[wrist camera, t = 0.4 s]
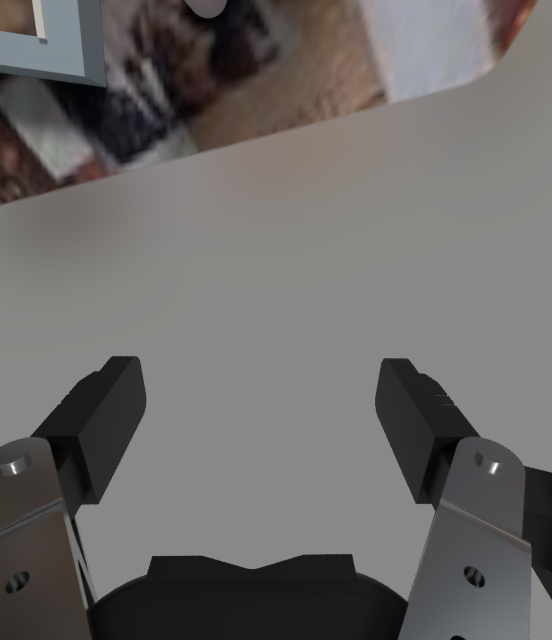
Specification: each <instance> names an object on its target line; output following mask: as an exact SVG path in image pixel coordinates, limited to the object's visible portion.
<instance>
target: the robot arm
mask: <svg viewBox="0 0 552 640" xmlns="http://www.w3.org/2000/svg"><path fill="white" fill-rule="evenodd" d="M375 407H376V412H377V415H378V418H379V420H380V423H381V425H382V427H383V429H384V432H385V434H386V436H387V439H388V441H389V443H390V446H391V448H392V450H393V452H394V455H395V457H396V459H397V461H398V464H399V466H400V468H401V471H402V473H403V475H404V477H405V480H406V482H407V484H408V487H409V489H410V491H411V494H412V496H413V498H414V500H415V503H416V504H432V505H433V507H434V510H435V515H434V518H433V521H432V524H431V528H430V531H429V534H428V537H427V541H426V544H425V547H424V550H423V553H422V557H421V559H420V563H419V566H418V569H417V573H416V575H415V579H414V582H413V585H412V588H411V591H410V594H409V597H408V601H406V600H405V599H404V598H402V597H401V596H400V595H399V594H397V593H396V592H395V591H393V590H392V589H390V588H389V587H388V586H386V585H384V584H382V583H381V582H378V581H377V580H375V579H373V578H371V577H368V576H366V575H364V574H360V573H357V572H356V571H355V566H354V561H353V557H352V554H324V555H322V554H321V555H301V556H298V557H294V558H291V559H288V560H284V561H281V562H278V563H275V564H271V565H268V566H265V567H261V568H258V569H246V568H243V567H240V566H236V565H233V564H229V563H226V562H222V561H218V560H215V559H212V558H208V557H204V556H152V559H151V563H150V566H149V569H148V573H147V575H144V576H141V577H139V578H136V579H134V580H132V581H129V582H127V583H125V584H123V585H122V586H120V587H118V588H116V589H114V590H113V591H111V592H110V593H109V594H107V595H105V596H104V597H102V598H101V599H100V600H98V598H97V595H96V592H95V589H94V585H93V582H92V578H91V574H90V571H89V566H88V562H87V559H86V555H85V551H84V547H83V544H82V540H81V536H80V532H79V528H78V524H77V521H76V518H75V515H76V513H77V511H78V509H79V507H80V506H81V505H82V504H84V505H85V504H99V502H100V500H101V498H102V496H103V494H104V492H105V490H106V488H107V486H108V484H109V482H110V481H111V479H112V476H113V475H114V473H115V470H116V469H117V466H118V465H119V463H120V461H121V459H122V457H123V455H124V452H125V451H126V449H127V447H128V445H129V443H130V441H131V439H132V437H133V435H134V433H135V431H136V429H137V427H138V425H139V423H140V421H141V419H142V417H143V415H144V412H145V408H146V392H145V386H144V380H143V375H142V369H141V364H140V360H139V358H138V357H136V356H113V357H111V358H110V359H109V360H108V361H107V363H106V364H105V365H104V366H103V367H102V369H101V370H100V371H99V372H98V371H94V372H93V373H91V374H90V375H88V376H86V377H85V378H83V379H82V380H80V381H79V382H78V383H77V384H76V385H75V386H74V388H73V389H72V390H71V391H70V392H69V394H68V395H66V397H65V398H64V399H63V400H62V401H61V404H59V405H58V406H57V407H56V408H55V409H54V410H53V411H52V412H51V414H50V415H49V416H48V417H47V418H46V419H45V420H44V422H43V423H42V424H41V425H40V426H39V427H38V428H37V429H36V431H35V432H34V433H33V434H32V435H31V436H30V437H28V438H22V439H18V440H15V441H12V442H9V443H7V444H5V445H3V446H1V447H0V640H529V632H530V631H529V630H530V595H531V566H532V568H533V569H534V571H535V573H536V574H537V576H538V578H539V579H540V581H541V583H542V584H543V586H544V588H545V589H546V591H547V593H548V594H549V596H550V598H551V599H552V473H551V472H547V471H543V470H538V469H534V468H530V467H526V466H524V465H523V464H522V462H521V461H520V459H519V458H518V457H517V456H516V455H515V454H514V453H513V452H511V451H510V450H509V449H507V448H506V447H504V446H503V445H500V444H499V443H496V442H494V441H492V440H489V439H485V438H481V437H480V436H479V434H478V433H477V432H476V430H475V429H474V428H473V427H472V426H471V424H470V423H469V422H468V420H467V419H466V418H465V417H464V415H463V414H462V413H461V411H460V410H459V409H458V408H457V406H454V402H453V401H452V400H451V399H450V397H449V396H447V393H446V392H445V391H444V390H443V388H442V387H441V386H440V385H439V383H438V382H436V381H435V380H433V379H432V378H430V377H429V376H427V375H426V374H419V373H418V371H417V370H416V368H415V367H414V366H413V364H412V363H411V362H410V360H409V359H406V358H400V359H399V358H395V359H394V358H385V359H383V361H382V363H381V368H380V374H379V380H378V386H377V391H376V397H375Z"/></svg>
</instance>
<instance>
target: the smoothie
mask: <svg viewBox="0 0 552 640" xmlns="http://www.w3.org/2000/svg"><path fill="white" fill-rule="evenodd" d="M184 1H185V2H186V3H187V4H188V5H189V7H190V8H191V9H192V10H193V11H194V12H195V13H196V14H197V15H199V16H201V17H203V18H213V17H216V16H217V15H219V14H220V13H221V12H222V11H223V9H224V7H225V5H226V3H227V0H184Z"/></svg>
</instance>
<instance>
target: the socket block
mask: <svg viewBox="0 0 552 640" xmlns="http://www.w3.org/2000/svg"><path fill="white" fill-rule="evenodd" d="M32 2H33V9H34V17H35V24H36V31H37V37H36V36H29V35H22V34H15V33H9V32H2V31H0V73H6V74H13V75H20V76H28V77H35V78H42V79H49V80H57V81H64V82H71V83H78V84H85V85H93V86H100V87H106V77H105V64H104V51H103V38H102V25H101V12H100V0H32Z"/></svg>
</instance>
